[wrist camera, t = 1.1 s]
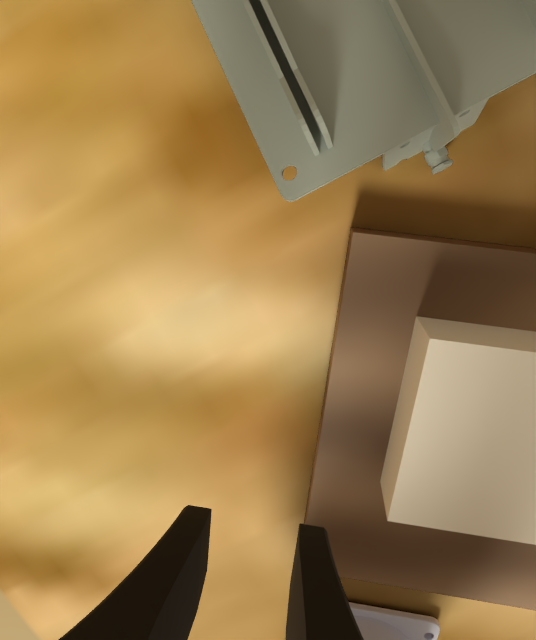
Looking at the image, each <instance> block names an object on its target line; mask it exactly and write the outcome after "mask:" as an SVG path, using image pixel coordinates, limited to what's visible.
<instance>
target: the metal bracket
mask: <svg viewBox="0 0 536 640" xmlns="http://www.w3.org/2000/svg"><path fill="white" fill-rule="evenodd" d="M191 1H192V4H193V6H194V8H195V10H196V12H197V14H198V17H199V19H200V21H201V23H202V25H203V27H204V30H205V32H206V34H207V36H208V38H209V40H210V43H211V45H212V47H213V49H214V51H215V53H216V56H217V58H218V60H219V62H220V64H221V66H222V69H223V71H224V73H225V75H226V77H227V79H228V82H229V84H230V86H231V88H232V90H233V92H234V95H235V97H236V99H237V101H238V103H239V105H240V107H241V110H242V112H243V114H244V116H245V118H246V120H247V123H248V125H249V127H250V129H251V131H252V133H253V136H254V138H255V140H256V142H257V144H258V146H259V149H260V151H261V153H262V155H263V157H264V159H265V162H266V164H267V166H268V168H269V170H270V172H271V175H272V177H273V179H274V181H275V183H276V185H277V188H278V190H279V192H280V194H281V196H282V197H283V198H284V199H285V200H287V201H290V202H291V201H296V200H298V199H300V198H301V197H303V196H305V195H307V194H309V193H311V192H313V191H315V190H317V189H318V188H320V187H322V186H324V185H326V184H328V183H330V182H332V181H334V180H335V179H337V178H339V177H341V176H343V175H345V174H347V173H349V172H351V171H352V170H354V169H356V168H358V167H360V166H362V165H364V164H366V163H368V162H369V161H371V160H373V159H375V158H377V157H379V156H381V155H383V162H382V167H383V169H384V171H386V170H388V169H389V168H391V167H393V166H395V165H397V164H398V163H399V162H400V161H402V160H403V159H406V160H407V159H409V158H411V157H413V156H414V155H416V154H418V153H420V152H422V151H424V153H425V157H424V158H425V160H426V162H427V164H428V166H431V168H432V171H431V172H432V175H433V174H435V173H438V172H441V171H442V170H444V169H446V168H447V167H449V166H451V165H452V163H453V161H452V159H451V160H449V158H448V156H447V155H448V151H447V149H446V147H445V145H446V144H448V143H449V142H450V141H451V140H453V139H454V138H455V137H457V136H458V135H459V134H460V132H461V131H462V130H464V129H466V128H468V127H470V126H472V125H474V124H475V122H476V120H477V118H478V117H479V115H480V113H481V111H482V110H483V108H484V106H485V104H486V102H487V101H488V99H489V98H490V97H492V96H494V95H496V94H498V93H500V92H502V91H504V90H505V89H507V88H509V87H511V86H513V85H515V84H517V83H519V82H521V81H522V80H524V79H526V78H528V77H530V76H532V75H534V74H536V0H191ZM288 166H293V167H295V168H296V169H297V175H296V177H295V178H294V179H293V180H289V181H288V180H285V179H284V178H283V171H284V169H285V168H286V167H288Z"/></svg>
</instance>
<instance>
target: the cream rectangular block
mask: <svg viewBox="0 0 536 640" xmlns="http://www.w3.org/2000/svg"><path fill="white" fill-rule="evenodd" d="M380 483H381V488H382V494H383V500H384V505H385V511H386V516H387V521H391V522H397V523H403V524H409V525H416V526H422V527H428V528H434V529H440V530H446V531H453V532H459V533H465V534H471V535H477V536H484V537H490V538H496V539H502V540H508V541H515V542H521V543H527V544H533V545H536V332H535V331H527V330H519V329H511V328H504V327H496V326H488V325H480V324H473V323H465V322H457V321H449V320H442V319H434V318H426V317H418V316H416V320H415V324H414V329H413V333H412V338H411V342H410V347H409V352H408V356H407V361H406V365H405V370H404V374H403V379H402V384H401V388H400V393H399V397H398V402H397V406H396V411H395V416H394V420H393V425H392V429H391V434H390V439H389V443H388V448H387V452H386V457H385V461H384V466H383V471H382V475H381V480H380Z"/></svg>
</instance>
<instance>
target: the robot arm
mask: <svg viewBox="0 0 536 640" xmlns="http://www.w3.org/2000/svg"><path fill="white" fill-rule="evenodd" d="M210 523H211V509H209V508H203V507H197V506H191V505H188V506H186V507H185V508H184V509H183V510H182V512H181V513H180V514H179V516H178V517H177V519H176V520H175V521H174V523H173V524H172V525H171V526H170V528H169V529H168V530H167V531H166V533H165V534H164V535H163V536H162V538H161V539H160V540H159V541H158V542H157V544H156V545H155V546H154V547H153V548H152V549H151V551H150V552H149V553H148V554H147V555H146V556H145V557H144V559H143V560H142V561H141V562H140V563H139V564H138V565H137V566H136V567H135V569H134V570H133V571H132V572H131V573H130V574H129V575H128V576H127V577H126V578H125V579H124V580H123V581H122V582H121V583H120V584H119V585H118V586H117V587H116V588H115V589H114V590H113V591H112V592H111V593H110V594H109V595H108V596H107V597H106V598H105V599H104V600H103V601H102V602H101V603H100V604H99V605H98V606H97V607H96V608H95V609H94V610H92V611H91V612H90V613H89V614H88V615H87V616H86V617H85V618H84V619H82V620H81V621H80V622H79V623H78V624H77V625H76V626H74V627H73V628H72V629H71V630H70V631H69V632H67V633H66V634H65V635H64V636H63V637H61V638H60V639H59V640H187V639H188V636H189V633H190V630H191V628H192V625H193V622H194V619H195V616H196V613H197V609H198V605H199V601H200V597H201V593H202V589H203V585H204V580H205V576H206V572H207V563H208V550H209V536H210ZM439 632H440V625H439V622H438V620H437V619H436V618H434V617H431V616H425V615H419V614H414V613H408V612H402V611H397V610H391V609H385V608H380V607H374V606H368V605H362V604H357V603H351V602H348V600H347V597H346V594H345V592H344V589H343V586H342V584H341V581H340V578H339V575H338V571H337V568H336V565H335V562H334V558H333V555H332V551H331V547H330V543H329V538H328V533H327V531H326V530H325V528H324V527H319V526H312V525H306V524H299V531H298V537H297V544H296V550H295V557H294V563H293V570H292V576H291V583H290V592H289V603H288V613H287V624H286V640H437V639H438V635H439Z"/></svg>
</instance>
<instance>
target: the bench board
mask: <svg viewBox="0 0 536 640" xmlns="http://www.w3.org/2000/svg"><path fill="white" fill-rule="evenodd" d="M416 316H418V317H426V318H434V319H442V320H449V321H457V322H465V323H473V324H480V325H488V326H496V327H504V328H511V329H519V330H527V331H535V332H536V249H534V248H526V247H517V246H508V245H500V244H491V243H483V242H474V241H465V240H457V239H448V238H440V237H431V236H422V235H414V234H405V233H397V232H388V231H379V230H371V229H362V228H354V227H351V229H350V236H349V242H348V248H347V255H346V261H345V267H344V274H343V280H342V286H341V293H340V299H339V305H338V311H337V318H336V324H335V330H334V337H333V343H332V349H331V356H330V362H329V368H328V375H327V381H326V387H325V394H324V400H323V406H322V412H321V419H320V425H319V431H318V438H317V444H316V450H315V457H314V463H313V469H312V476H311V482H310V488H309V495H308V501H307V507H306V513H305V520H304V524H306V525H312V526H319V527H324V528H325V530H326V531H327V533H328V538H329V543H330V547H331V551H332V555H333V558H334V562H335V565H336V568H337V571H338V575H339V577H343V578H349V579H355V580H361V581H367V582H373V583H378V584H384V585H390V586H396V587H402V588H408V589H413V590H419V591H425V592H431V593H437V594H443V595H448V596H454V597H460V598H466V599H472V600H477V601H483V602H489V603H495V604H501V605H507V606H512V607H518V608H524V609H530V610H536V545H533V544H527V543H521V542H515V541H508V540H502V539H496V538H490V537H484V536H477V535H471V534H465V533H459V532H453V531H446V530H440V529H434V528H428V527H422V526H416V525H409V524H403V523H397V522H391V521H387V516H386V511H385V505H384V500H383V494H382V488H381V483H380V480H381V475H382V471H383V466H384V461H385V457H386V452H387V448H388V443H389V439H390V434H391V429H392V425H393V420H394V416H395V411H396V406H397V402H398V397H399V393H400V388H401V384H402V379H403V374H404V370H405V365H406V361H407V356H408V352H409V347H410V342H411V338H412V333H413V329H414V324H415V320H416Z"/></svg>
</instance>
